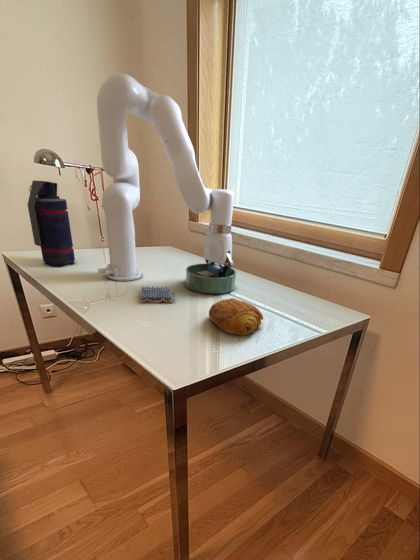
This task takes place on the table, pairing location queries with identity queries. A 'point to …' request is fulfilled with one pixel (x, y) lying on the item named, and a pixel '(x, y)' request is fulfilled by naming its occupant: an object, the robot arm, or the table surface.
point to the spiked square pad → (156, 294)
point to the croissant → (235, 316)
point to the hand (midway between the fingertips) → (216, 279)
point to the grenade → (50, 223)
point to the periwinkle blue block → (214, 270)
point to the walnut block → (206, 274)
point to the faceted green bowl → (209, 280)
